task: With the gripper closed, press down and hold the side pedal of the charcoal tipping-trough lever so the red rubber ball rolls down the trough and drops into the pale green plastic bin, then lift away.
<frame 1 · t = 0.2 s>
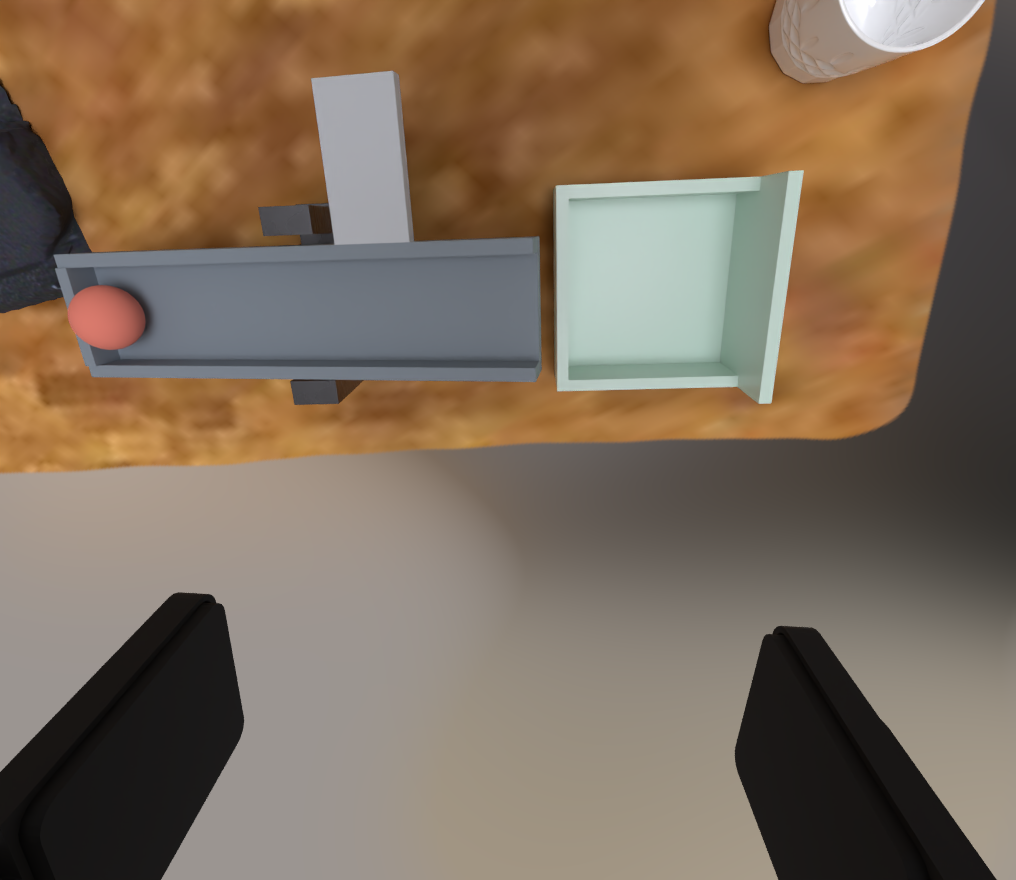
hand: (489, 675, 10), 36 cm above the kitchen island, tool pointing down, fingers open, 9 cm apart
lever stand: (345, 294, 43), on the kitchen island
white cup: (819, 25, 36), on the kitchen island
ball: (107, 317, 35), point 9 cm above the kitchen island, tilted 6°, touching lever
lever: (295, 243, 34), point 8 cm above the kitchen island, hinge at 8.0°, touching ball
bin: (643, 284, 42), on the kitchen island
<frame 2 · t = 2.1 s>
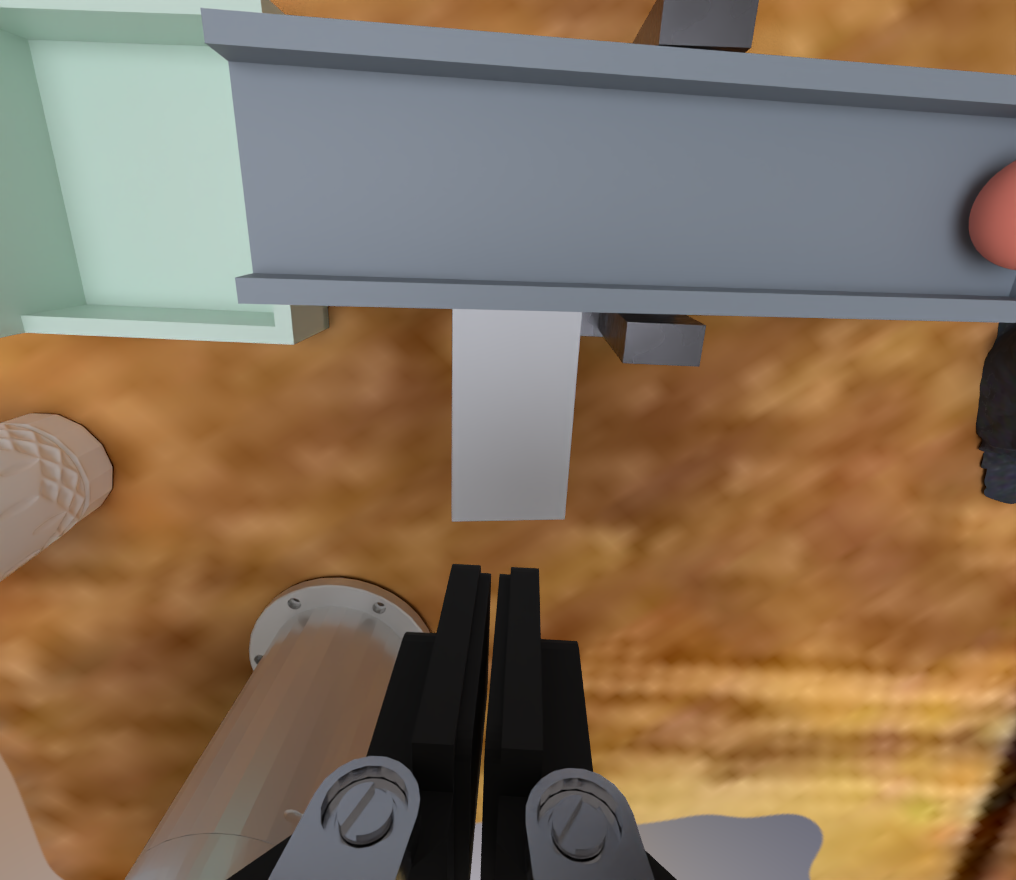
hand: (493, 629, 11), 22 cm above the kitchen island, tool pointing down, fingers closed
lever stand: (637, 206, 28), on the kitchen island
white cup: (62, 462, 35), on the kitchen island
lever: (661, 308, 22), point 8 cm above the kitchen island, hinge at 8.0°, touching ball
bin: (187, 187, 29), on the kitchen island
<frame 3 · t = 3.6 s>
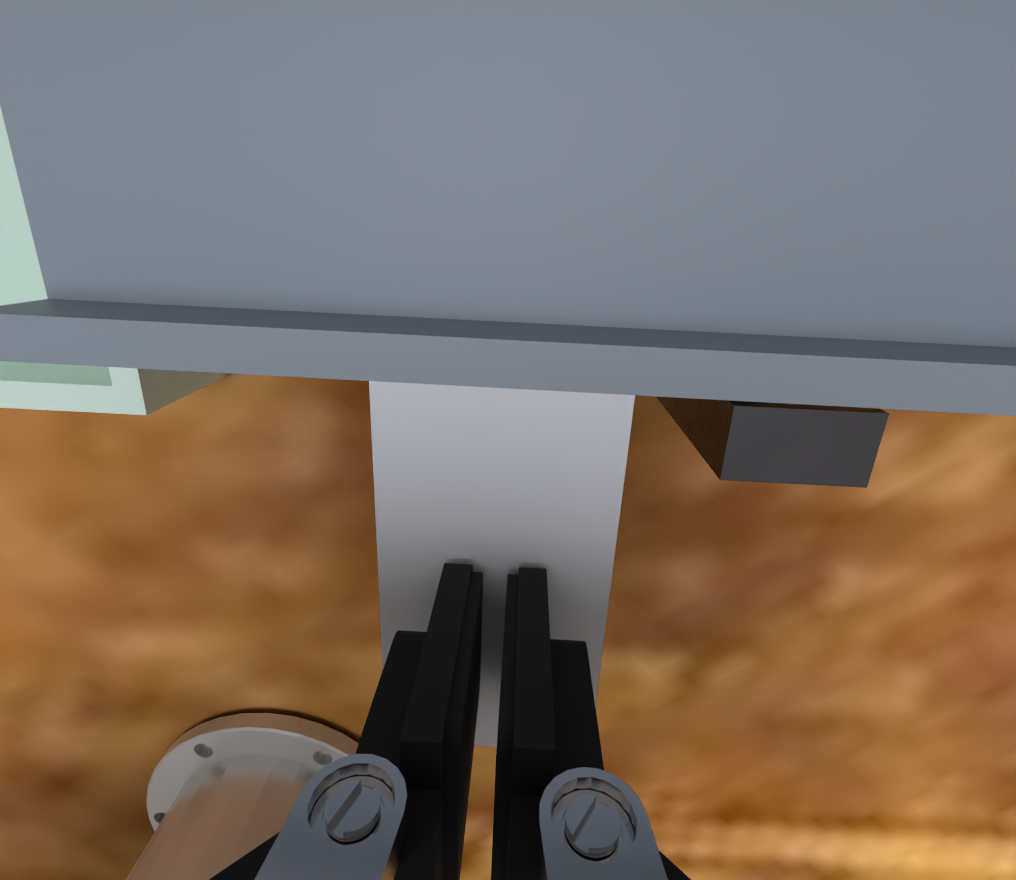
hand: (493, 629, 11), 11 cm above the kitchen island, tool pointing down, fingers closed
lever stand: (710, 188, 18), on the kitchen island
lever: (801, 375, 11), point 8 cm above the kitchen island, hinge at -1.0°, touching ball, gripper
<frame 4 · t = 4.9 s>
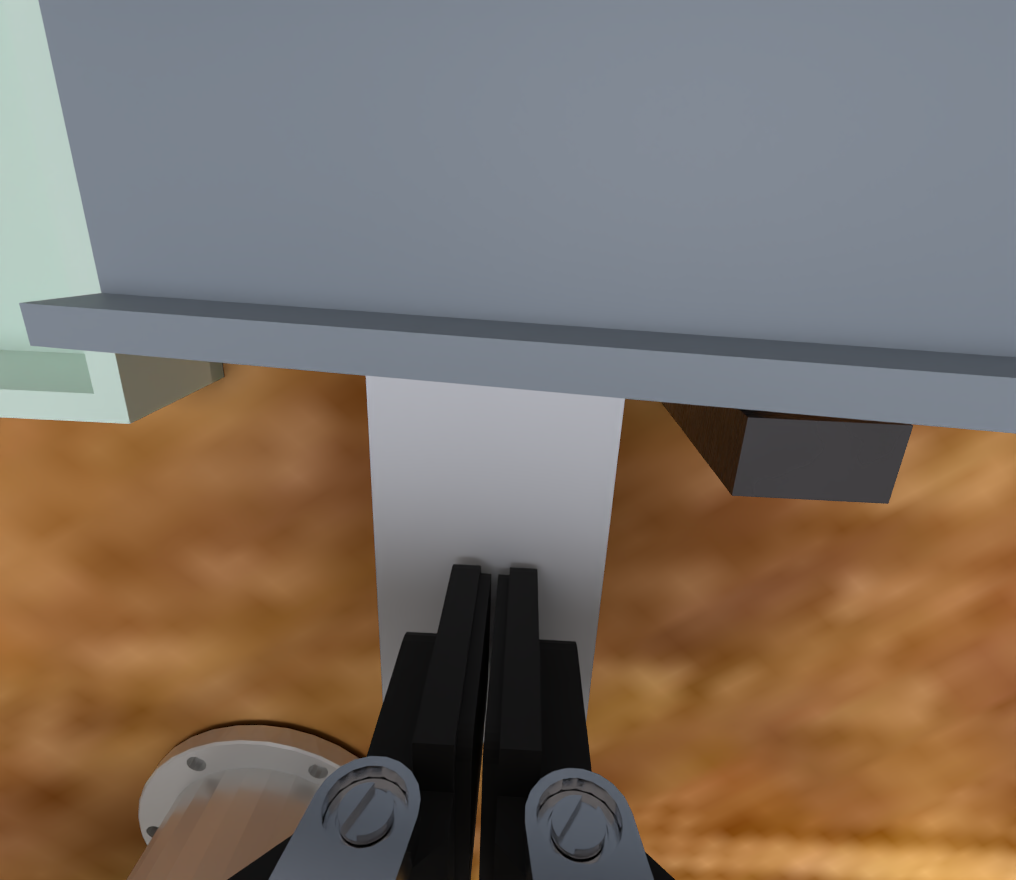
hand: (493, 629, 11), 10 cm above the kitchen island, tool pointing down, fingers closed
lever stand: (717, 185, 17), on the kitchen island
lever: (824, 385, 11), point 8 cm above the kitchen island, hinge at -8.4°, touching gripper
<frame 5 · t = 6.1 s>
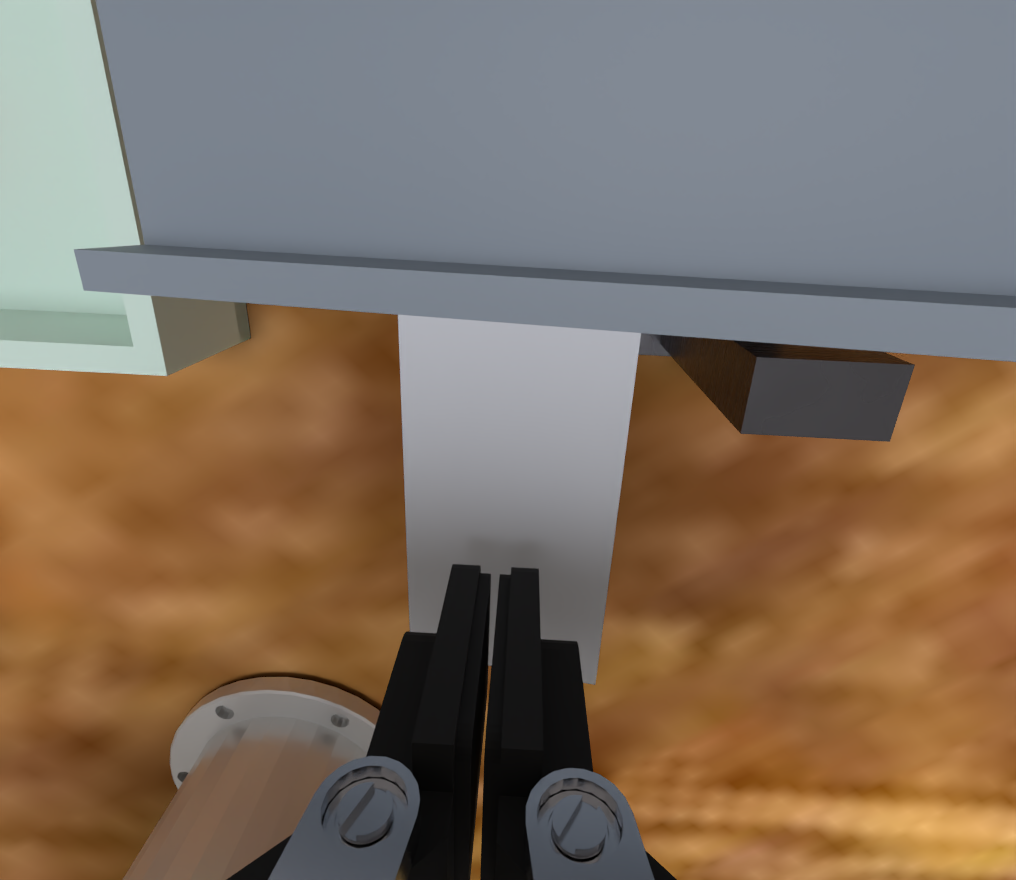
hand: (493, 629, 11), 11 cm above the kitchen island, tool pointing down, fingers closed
lever stand: (731, 146, 17), on the kitchen island
lever: (830, 328, 11), point 8 cm above the kitchen island, hinge at -8.4°
bin: (15, 119, 18), on the kitchen island
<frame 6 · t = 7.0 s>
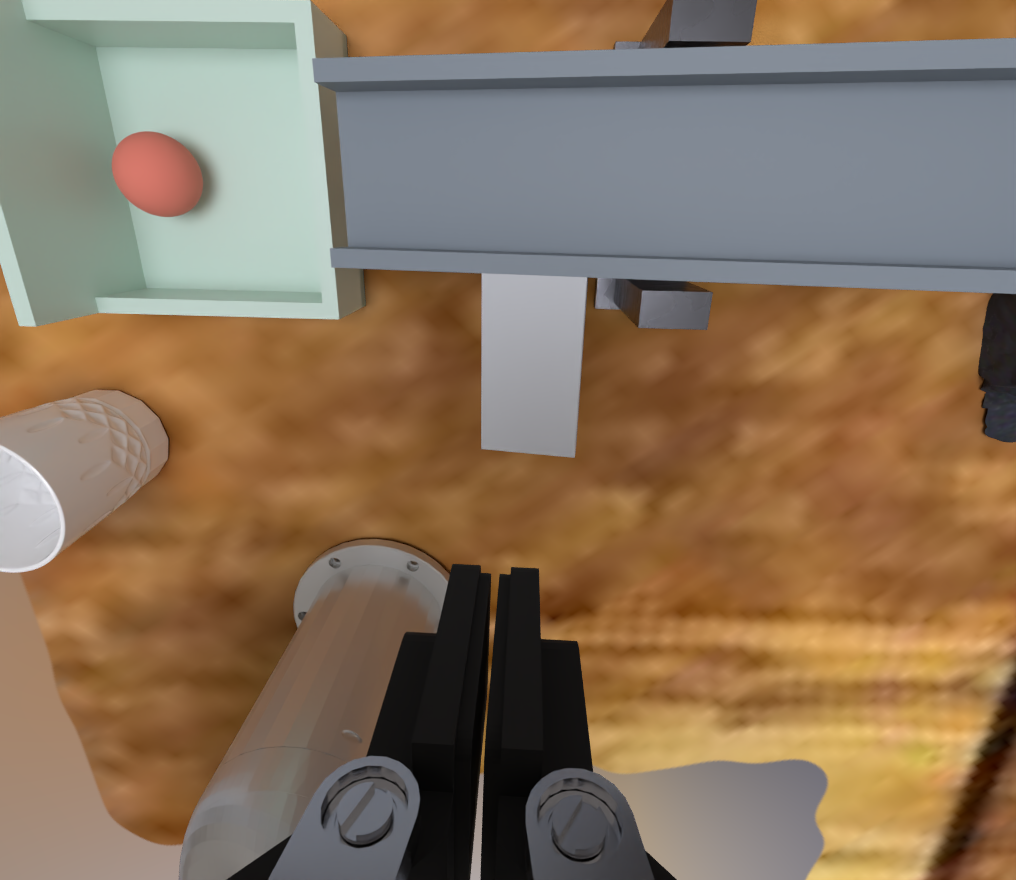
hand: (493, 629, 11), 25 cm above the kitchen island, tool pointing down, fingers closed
lever stand: (648, 187, 31), on the kitchen island
white cup: (122, 435, 38), on the kitchen island
ball: (159, 175, 29), point 3 cm above the kitchen island, tilted 42°, touching bin
lever: (677, 277, 24), point 8 cm above the kitchen island, hinge at -8.4°
bin: (237, 179, 31), on the kitchen island
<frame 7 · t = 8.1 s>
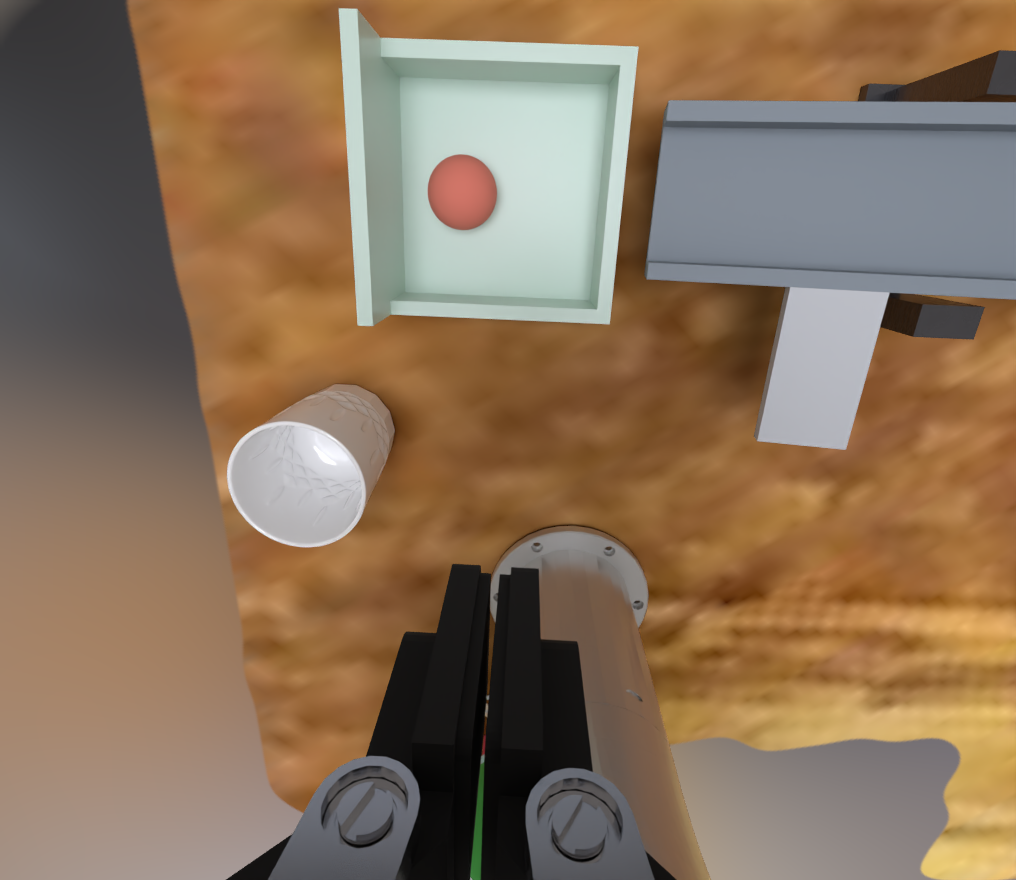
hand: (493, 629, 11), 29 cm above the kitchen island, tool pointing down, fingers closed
cactus trinket dish: (502, 744, 52), on the kitchen island
lever stand: (874, 211, 34), on the kitchen island
white cup: (350, 426, 41), on the kitchen island
ball: (462, 193, 32), point 3 cm above the kitchen island, tilted 25°, touching bin
lever: (949, 293, 28), point 8 cm above the kitchen island, hinge at -8.4°
bin: (501, 196, 35), on the kitchen island
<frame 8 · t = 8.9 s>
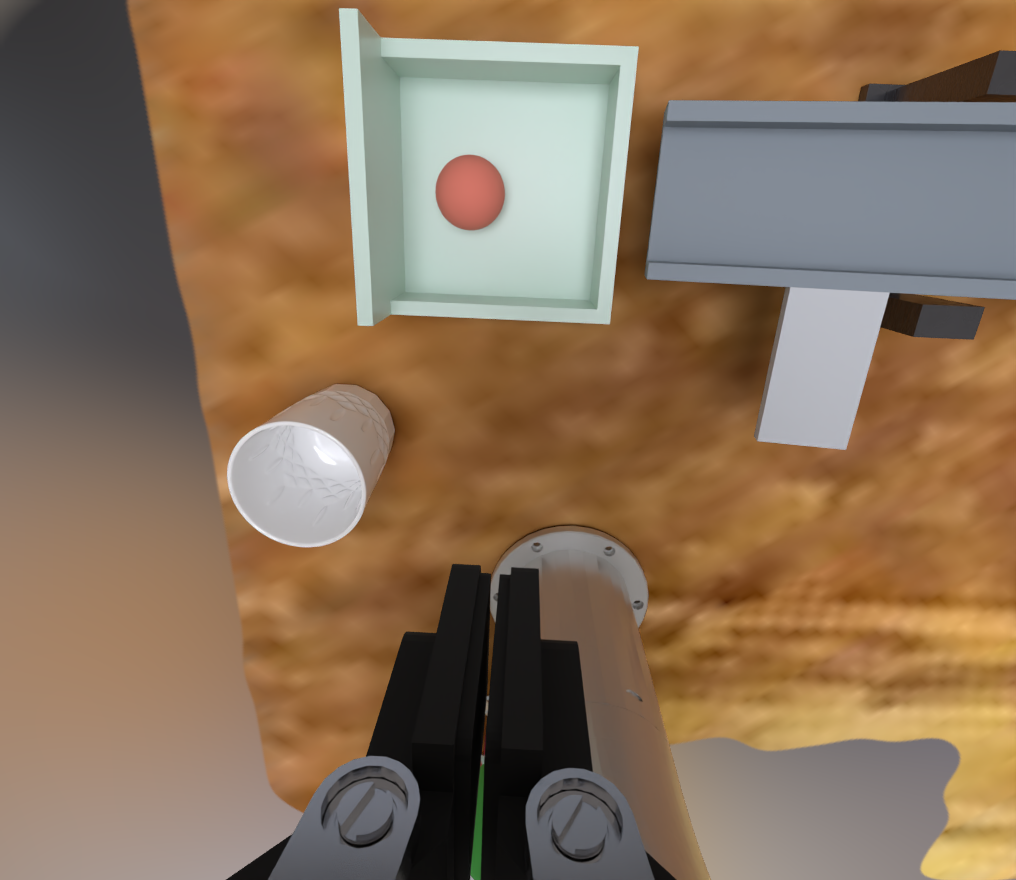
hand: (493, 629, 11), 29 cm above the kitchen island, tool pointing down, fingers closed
cactus trinket dish: (503, 744, 52), on the kitchen island
lever stand: (874, 211, 34), on the kitchen island
white cup: (350, 426, 41), on the kitchen island
ball: (470, 193, 32), point 3 cm above the kitchen island, tilted 12°, touching bin
lever: (949, 293, 28), point 8 cm above the kitchen island, hinge at -8.4°
bin: (501, 196, 35), on the kitchen island
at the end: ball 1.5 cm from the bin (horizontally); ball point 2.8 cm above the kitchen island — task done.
